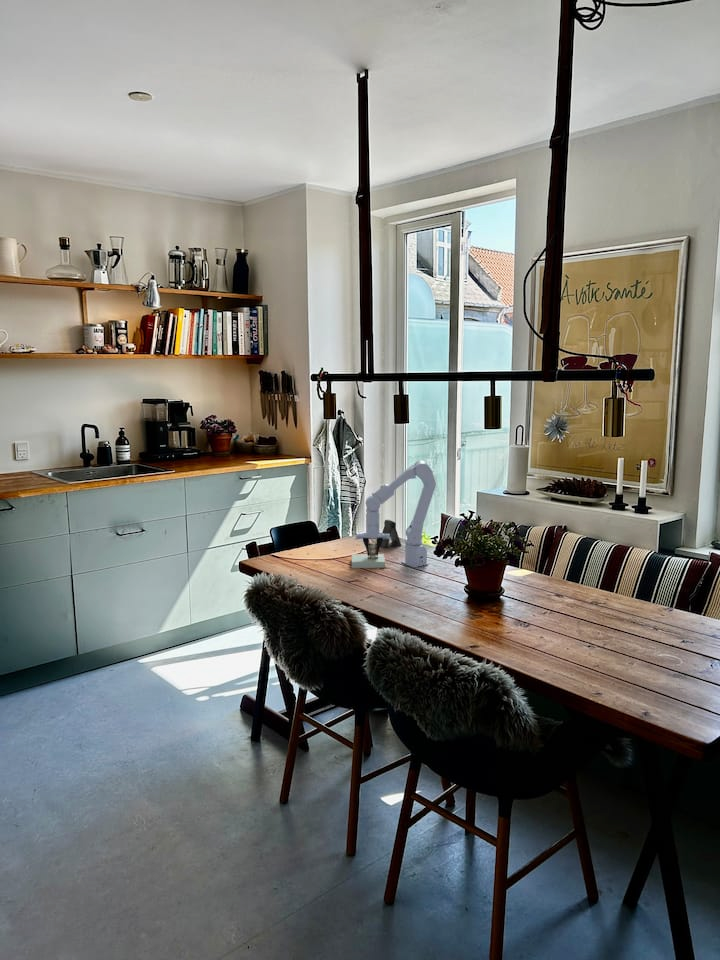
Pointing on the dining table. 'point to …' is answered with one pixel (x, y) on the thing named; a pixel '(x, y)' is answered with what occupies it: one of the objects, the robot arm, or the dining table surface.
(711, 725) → the dining table surface
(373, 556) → the peg
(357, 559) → the hole board
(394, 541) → the phone stand
